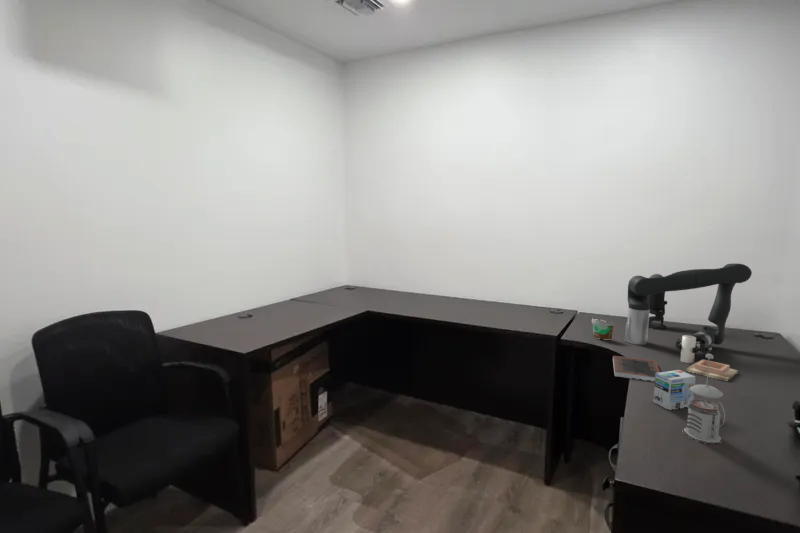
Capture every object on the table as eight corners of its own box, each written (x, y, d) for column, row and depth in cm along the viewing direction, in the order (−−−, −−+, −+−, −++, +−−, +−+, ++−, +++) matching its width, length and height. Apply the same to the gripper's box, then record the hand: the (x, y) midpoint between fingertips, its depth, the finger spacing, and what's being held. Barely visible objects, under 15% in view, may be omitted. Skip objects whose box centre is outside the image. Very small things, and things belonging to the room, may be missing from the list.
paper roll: (678, 361, 193) (680, 336, 192) (682, 358, 196) (684, 334, 195) (691, 364, 189) (693, 339, 188) (695, 361, 192) (697, 337, 191)
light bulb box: (668, 410, 146) (671, 379, 145) (652, 402, 152) (654, 372, 151) (694, 406, 149) (696, 376, 148) (676, 398, 155) (679, 369, 154)
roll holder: (686, 371, 181) (686, 363, 180) (697, 363, 190) (698, 356, 189) (727, 381, 170) (727, 373, 170) (737, 373, 179) (738, 365, 179)
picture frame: (661, 383, 170) (655, 365, 189) (662, 377, 169) (655, 360, 189) (614, 377, 176) (612, 360, 196) (614, 371, 176) (613, 355, 196)
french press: (706, 427, 135) (713, 348, 132) (736, 447, 124) (745, 361, 120) (674, 427, 135) (681, 348, 132) (701, 448, 123) (710, 362, 120)
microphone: (661, 324, 254) (665, 272, 250) (671, 330, 242) (676, 276, 238) (637, 323, 256) (641, 272, 252) (647, 329, 244) (651, 275, 240)
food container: (585, 336, 231) (586, 317, 230) (593, 334, 233) (594, 316, 232) (605, 342, 220) (606, 323, 218) (613, 341, 222) (615, 321, 221)
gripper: (682, 330, 206) (668, 337, 195) (718, 337, 195) (706, 344, 184) (681, 345, 207) (667, 353, 196) (717, 353, 196) (704, 362, 185)
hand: (686, 349), depth 190 cm, fingers closed on paper roll, 5 cm apart
